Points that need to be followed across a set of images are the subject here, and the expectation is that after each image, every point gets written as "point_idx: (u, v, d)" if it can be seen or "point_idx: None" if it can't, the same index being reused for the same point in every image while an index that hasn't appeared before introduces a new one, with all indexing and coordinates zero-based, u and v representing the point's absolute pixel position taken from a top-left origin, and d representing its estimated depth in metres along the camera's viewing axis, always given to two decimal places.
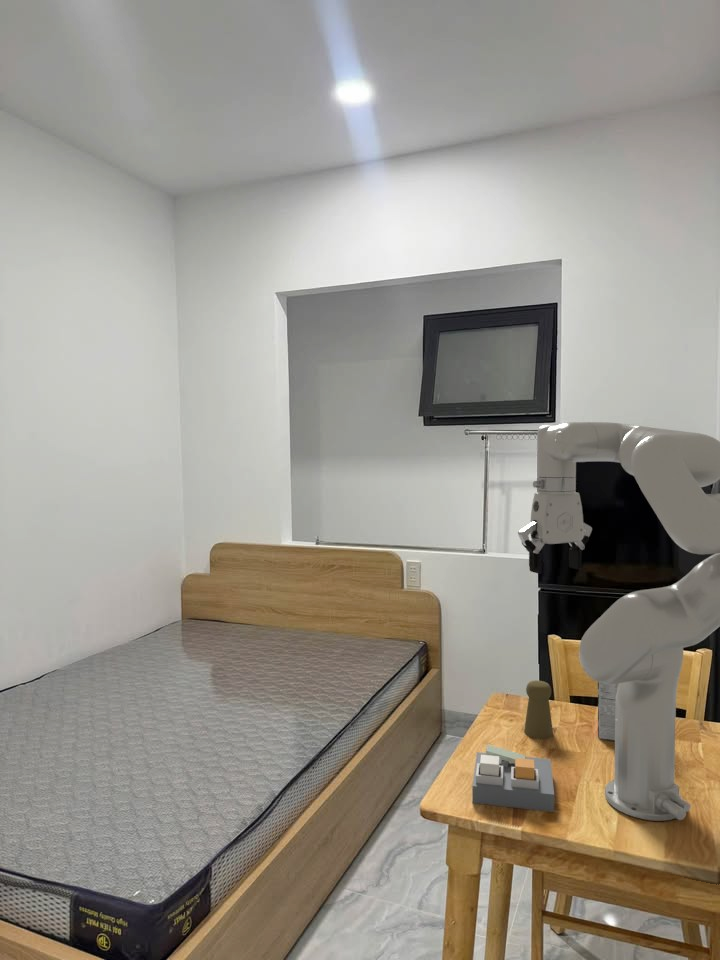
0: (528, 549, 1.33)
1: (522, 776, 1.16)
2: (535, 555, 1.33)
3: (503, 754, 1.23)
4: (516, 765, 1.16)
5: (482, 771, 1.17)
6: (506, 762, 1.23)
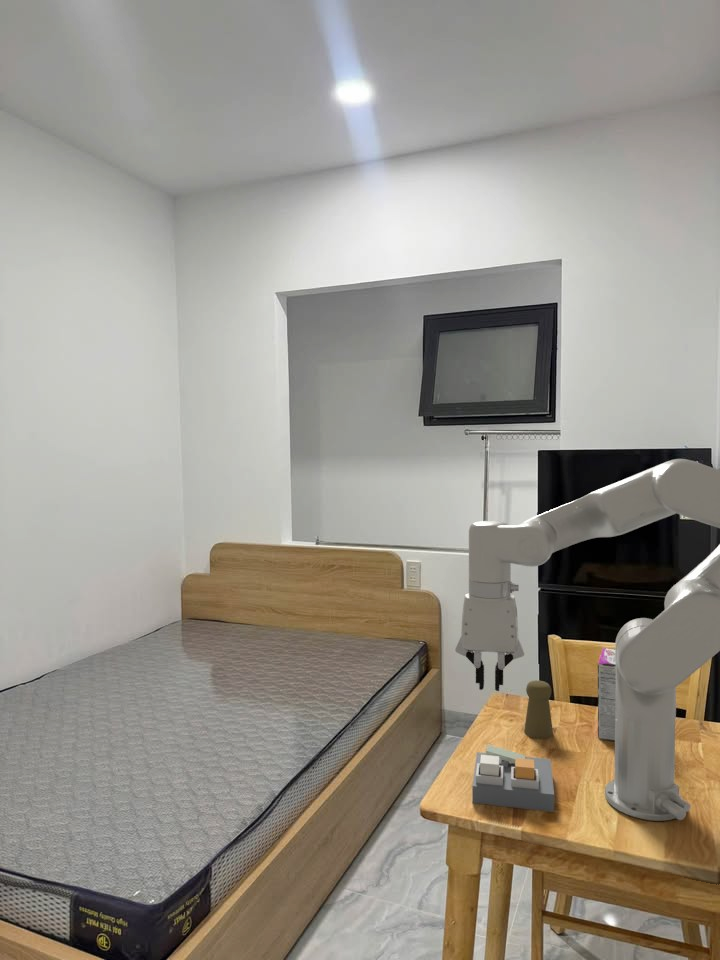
0: None
1: (522, 776, 1.16)
2: None
3: (503, 754, 1.23)
4: (516, 765, 1.16)
5: (482, 771, 1.17)
6: (506, 762, 1.23)
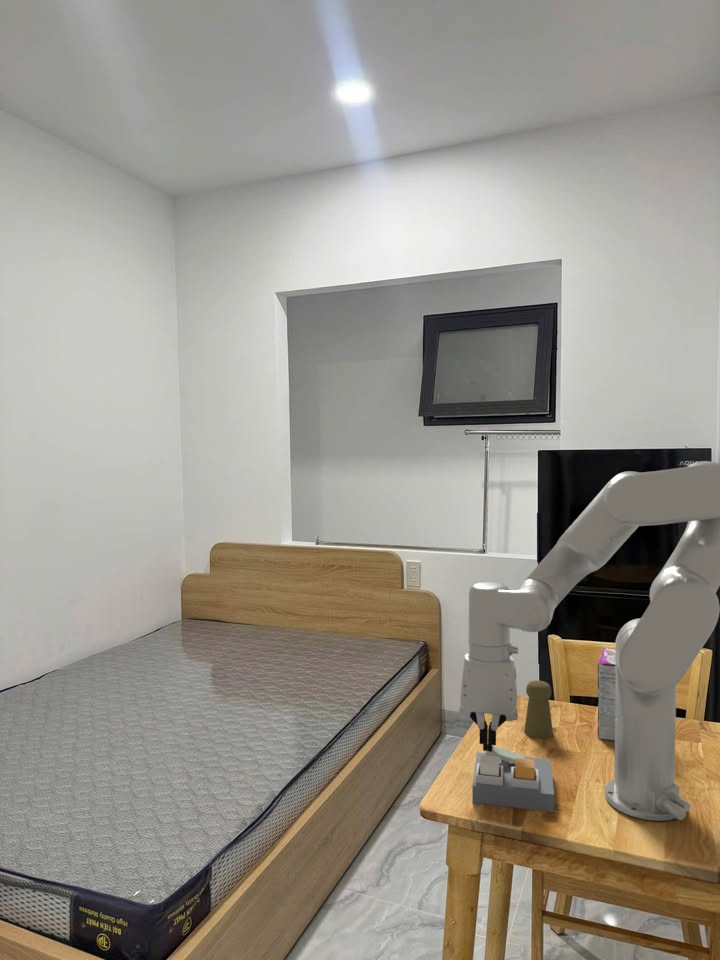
0: None
1: (522, 776, 1.16)
2: None
3: (503, 754, 1.23)
4: (516, 765, 1.16)
5: (482, 771, 1.17)
6: (506, 762, 1.23)
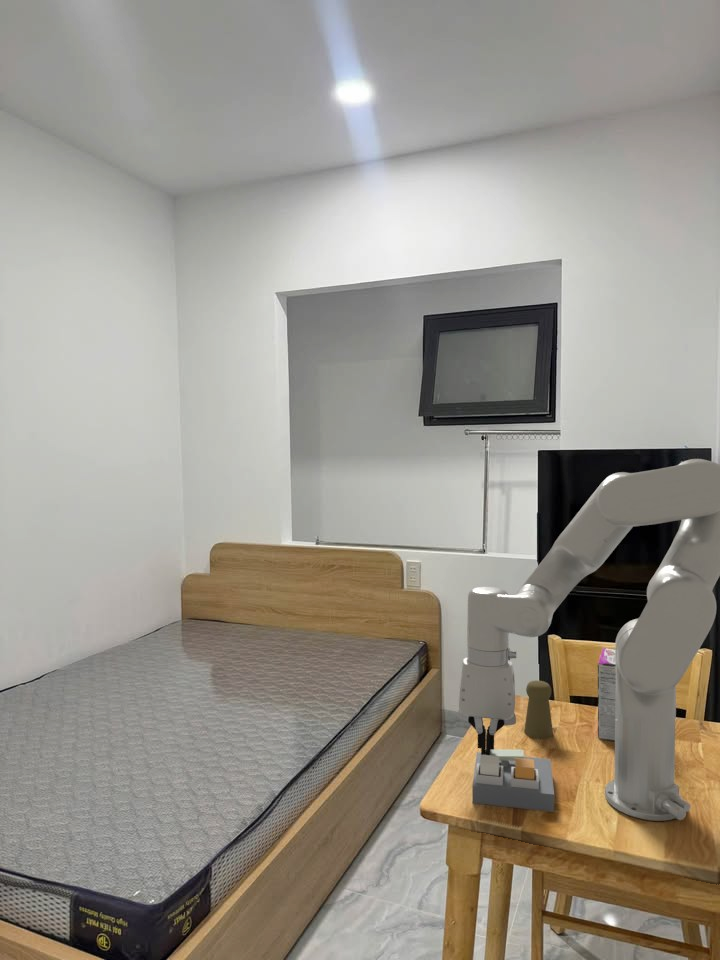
0: None
1: (522, 776, 1.16)
2: None
3: (502, 754, 1.23)
4: (516, 765, 1.16)
5: (482, 771, 1.17)
6: (506, 762, 1.23)
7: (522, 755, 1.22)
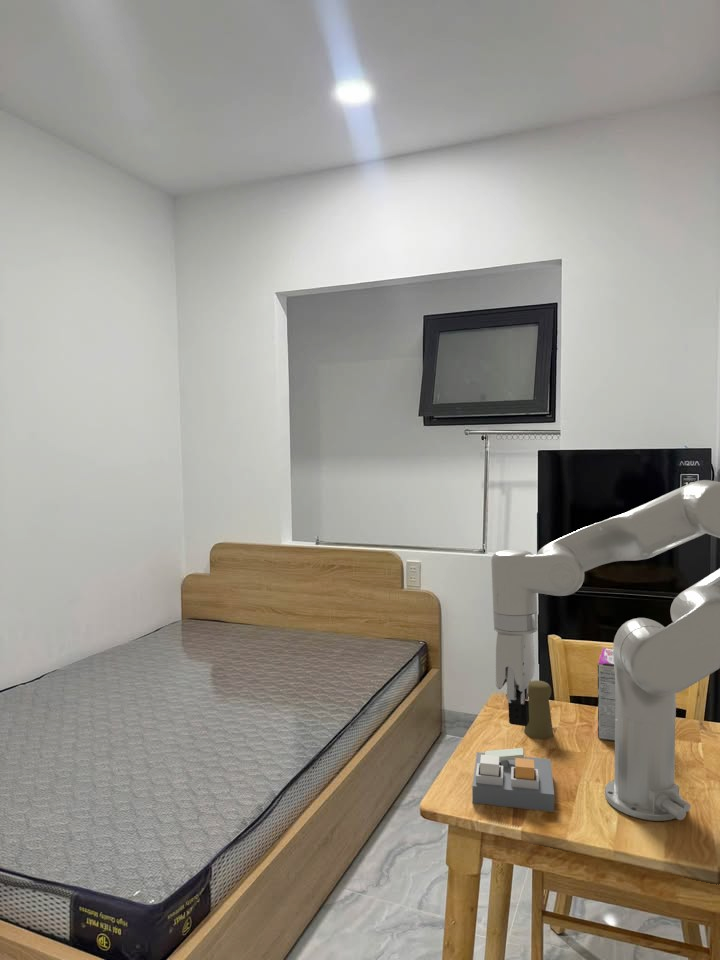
0: None
1: (522, 776, 1.16)
2: None
3: (501, 755, 1.23)
4: (516, 765, 1.16)
5: (482, 771, 1.17)
6: (506, 762, 1.23)
7: (521, 753, 1.22)
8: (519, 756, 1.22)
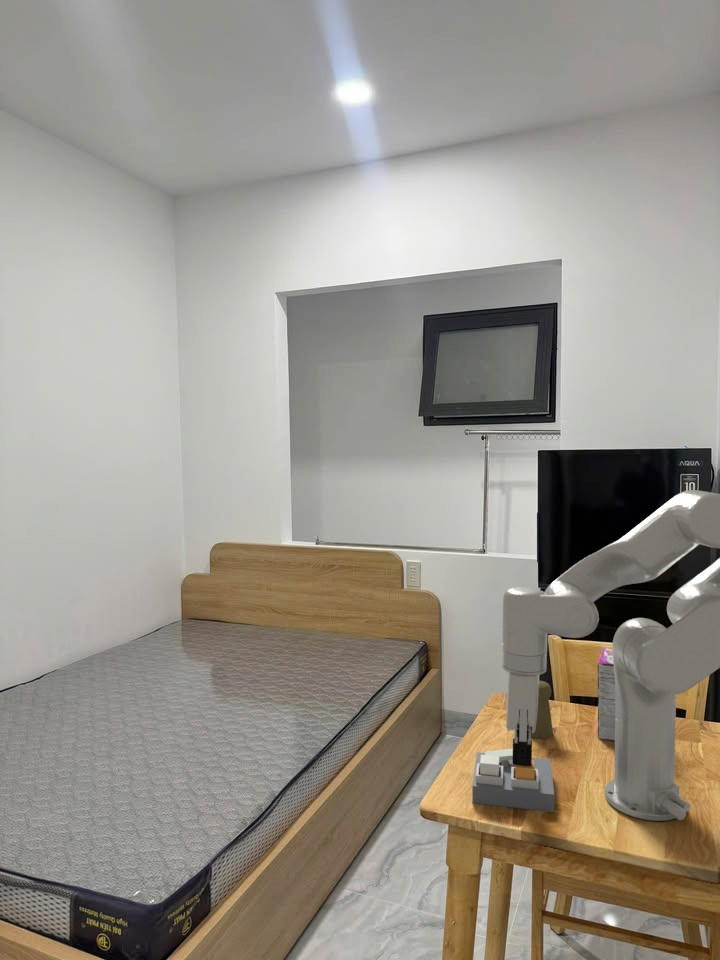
0: None
1: (522, 776, 1.16)
2: None
3: (501, 755, 1.23)
4: (516, 766, 1.16)
5: (482, 771, 1.17)
6: (506, 762, 1.23)
7: None
8: None
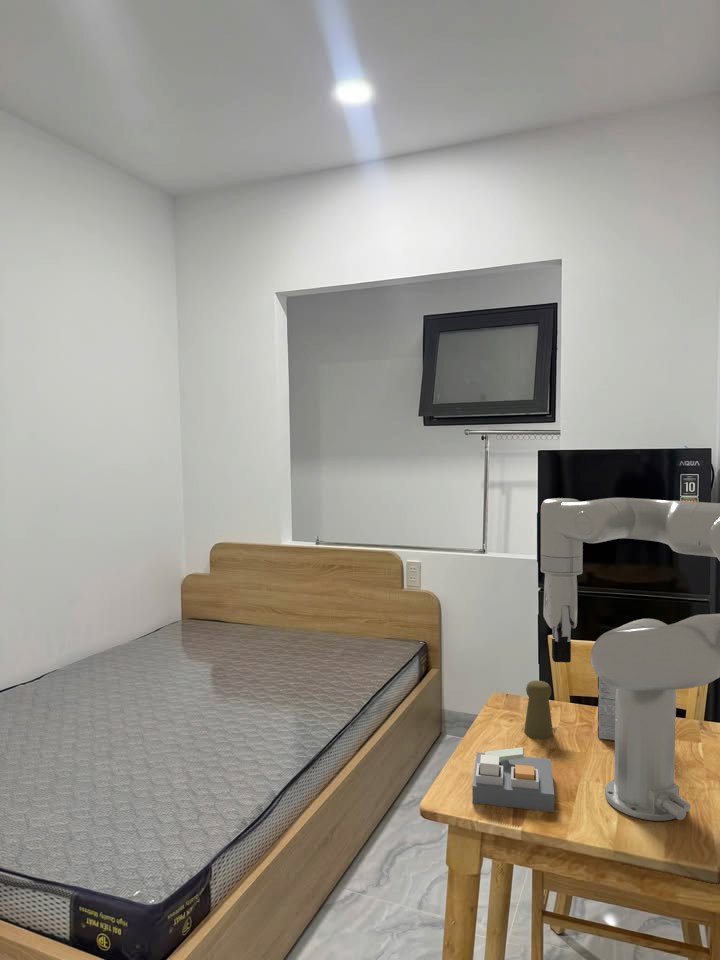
0: None
1: None
2: None
3: (501, 755, 1.23)
4: (516, 772, 1.16)
5: (482, 771, 1.17)
6: (506, 762, 1.23)
7: (521, 753, 1.22)
8: (519, 756, 1.22)
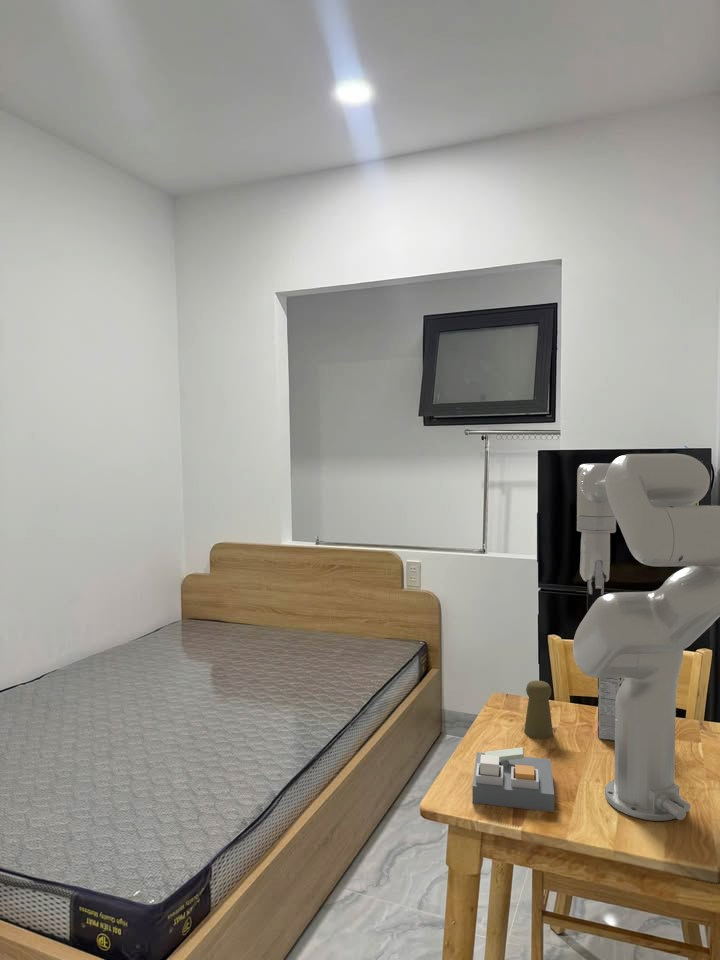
0: None
1: None
2: None
3: (501, 755, 1.23)
4: (516, 772, 1.16)
5: (482, 771, 1.17)
6: (506, 762, 1.23)
7: (521, 753, 1.22)
8: (519, 756, 1.22)
